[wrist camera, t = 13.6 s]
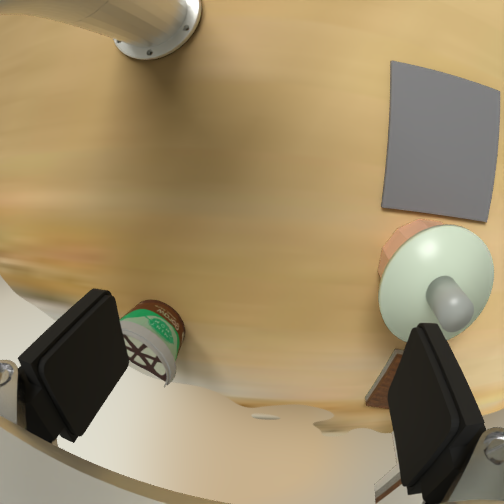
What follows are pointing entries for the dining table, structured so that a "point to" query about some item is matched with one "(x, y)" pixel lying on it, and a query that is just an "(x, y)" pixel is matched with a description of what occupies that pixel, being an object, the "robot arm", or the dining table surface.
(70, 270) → the dining table surface
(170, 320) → the food container
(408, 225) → the bowl
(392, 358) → the grey two-tier tower
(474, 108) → the mat
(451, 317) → the lid
